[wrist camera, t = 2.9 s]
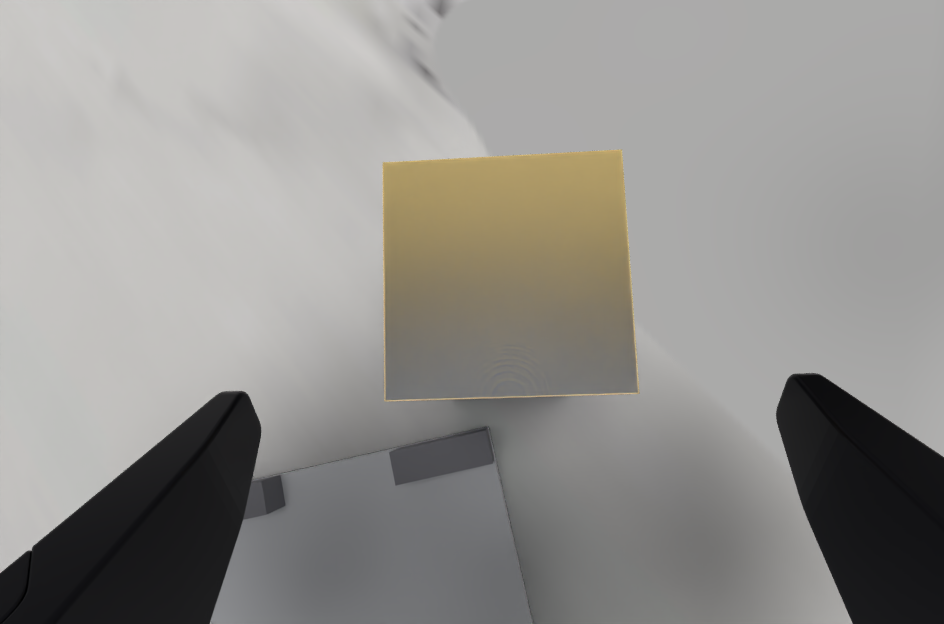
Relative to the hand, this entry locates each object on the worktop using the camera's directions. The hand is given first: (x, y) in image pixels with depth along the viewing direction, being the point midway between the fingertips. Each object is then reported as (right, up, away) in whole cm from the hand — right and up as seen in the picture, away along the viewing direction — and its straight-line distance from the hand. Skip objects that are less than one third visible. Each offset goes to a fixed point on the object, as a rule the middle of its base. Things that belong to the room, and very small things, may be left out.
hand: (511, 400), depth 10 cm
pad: (-4, -8, +10) cm, 13 cm away
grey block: (+1, 0, +11) cm, 11 cm away
